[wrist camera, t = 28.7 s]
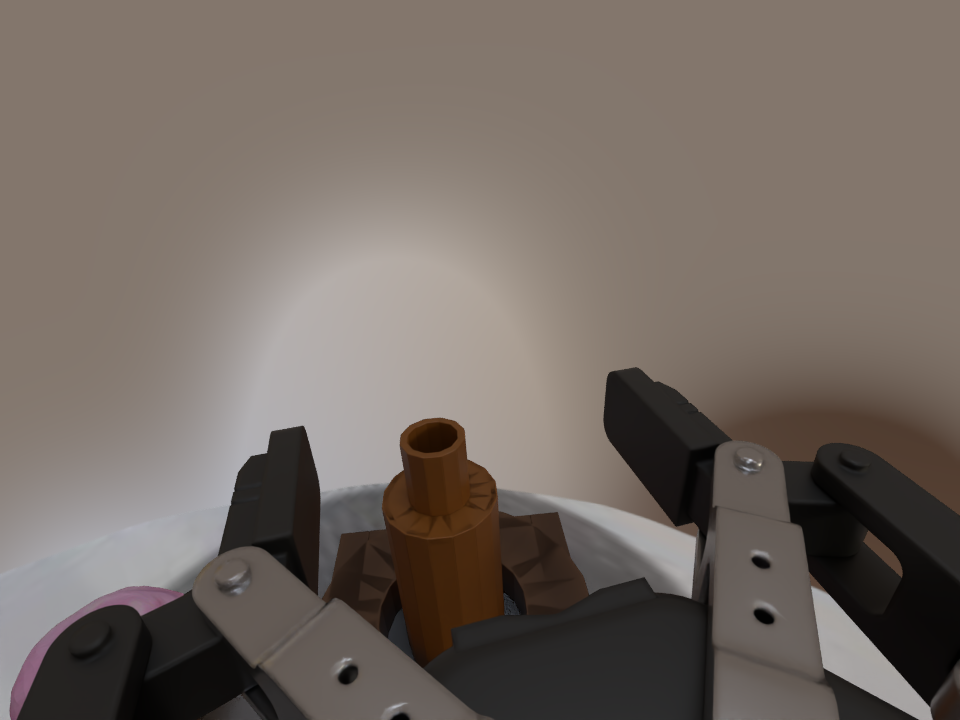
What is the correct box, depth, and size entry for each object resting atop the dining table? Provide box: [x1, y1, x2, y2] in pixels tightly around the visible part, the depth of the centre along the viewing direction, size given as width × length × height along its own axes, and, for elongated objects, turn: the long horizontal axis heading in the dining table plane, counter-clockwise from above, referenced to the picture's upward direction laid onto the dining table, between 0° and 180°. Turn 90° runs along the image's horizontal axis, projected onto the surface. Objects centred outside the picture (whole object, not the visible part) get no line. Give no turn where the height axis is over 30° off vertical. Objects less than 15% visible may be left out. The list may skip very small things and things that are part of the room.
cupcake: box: [10, 586, 200, 720], centre depth 29 cm, size 9×9×10 cm
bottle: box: [382, 418, 504, 668], centre depth 31 cm, size 6×6×17 cm
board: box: [322, 511, 589, 638], centre depth 34 cm, size 18×18×3 cm
